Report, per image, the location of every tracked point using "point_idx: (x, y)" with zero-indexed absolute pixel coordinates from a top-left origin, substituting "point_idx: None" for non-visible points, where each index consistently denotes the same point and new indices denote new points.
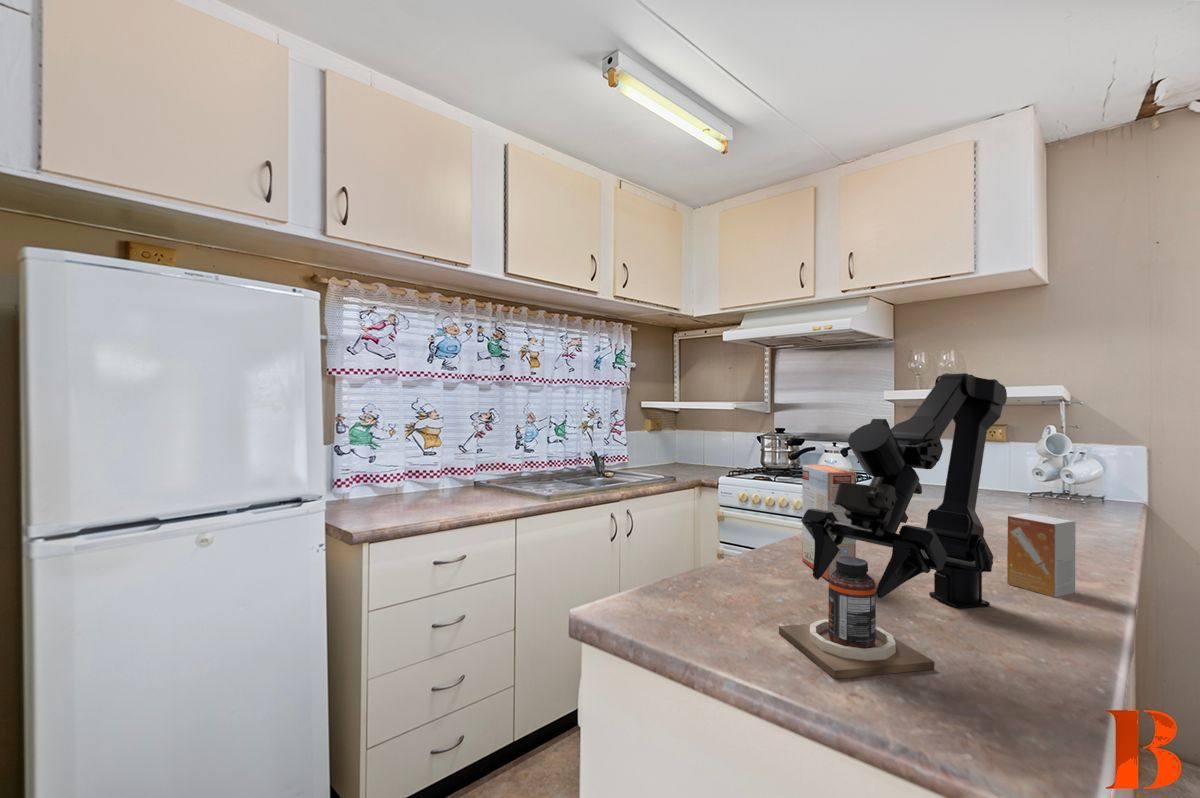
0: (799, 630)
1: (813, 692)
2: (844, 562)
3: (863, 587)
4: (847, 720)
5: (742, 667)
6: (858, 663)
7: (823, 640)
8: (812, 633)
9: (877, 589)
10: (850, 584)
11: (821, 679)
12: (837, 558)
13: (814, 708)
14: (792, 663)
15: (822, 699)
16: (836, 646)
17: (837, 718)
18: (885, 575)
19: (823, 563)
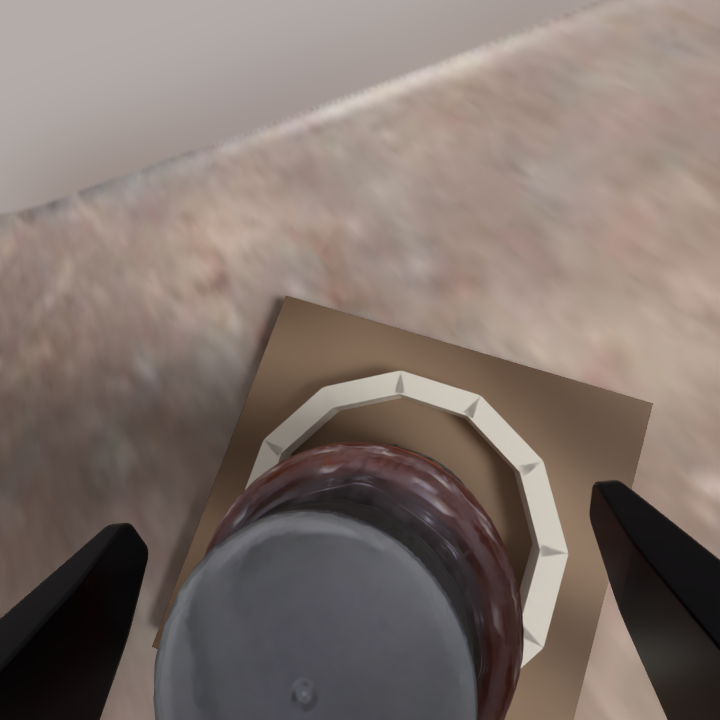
0: (577, 445)
1: (278, 202)
2: (297, 533)
3: (212, 536)
4: (164, 181)
5: (472, 126)
6: (277, 400)
7: (400, 379)
8: (468, 395)
9: (106, 538)
10: (266, 474)
11: (311, 270)
12: (441, 612)
13: (231, 153)
14: (421, 269)
15: (246, 197)
16: (345, 382)
17: (180, 168)
18: (1, 648)
19: (675, 660)
